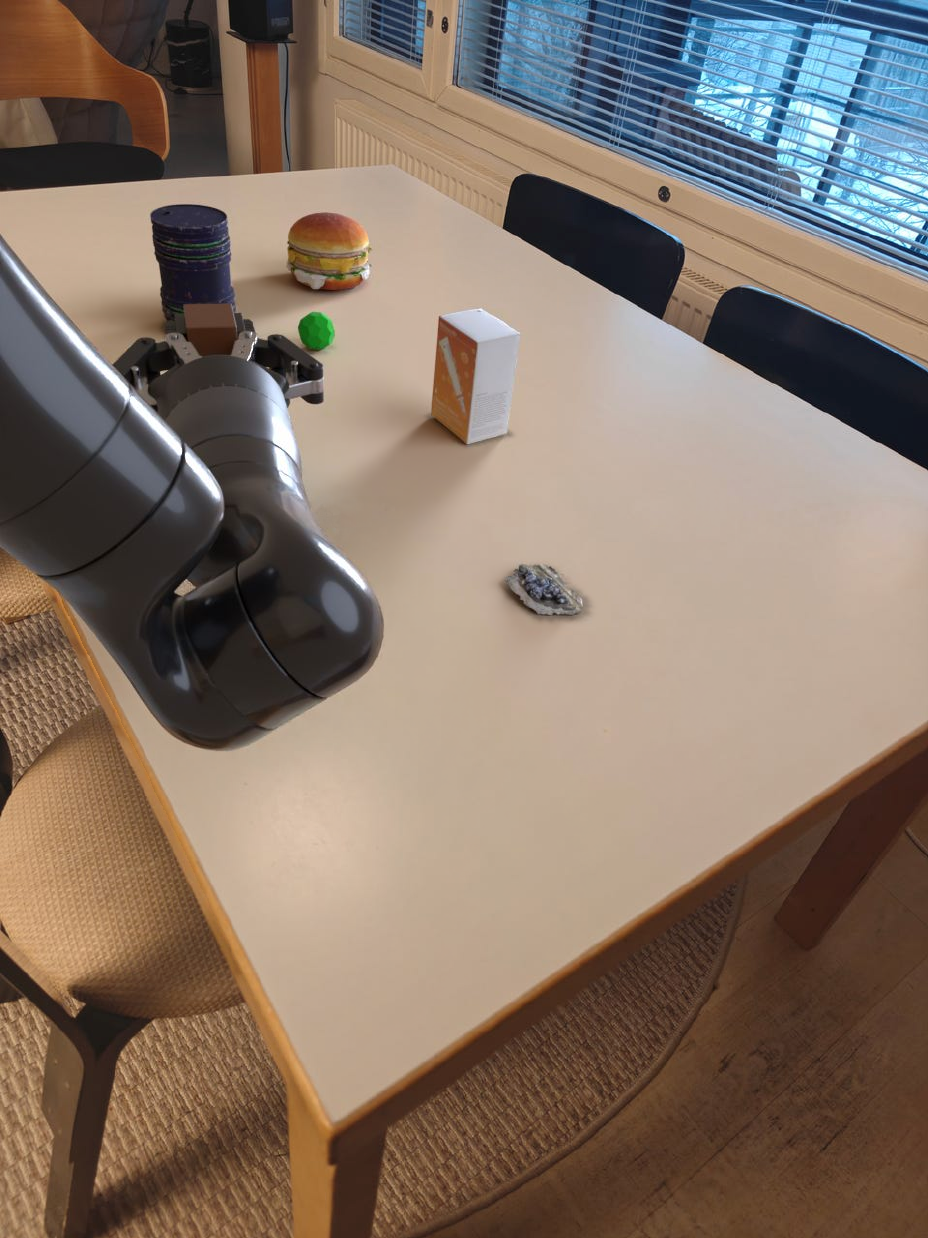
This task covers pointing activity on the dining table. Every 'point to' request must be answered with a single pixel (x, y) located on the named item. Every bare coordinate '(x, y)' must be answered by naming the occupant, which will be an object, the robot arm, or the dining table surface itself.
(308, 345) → the polyhedron
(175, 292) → the navy striped cylinder
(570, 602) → the grey flat lumpy piece
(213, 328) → the chocolate carton
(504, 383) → the small box
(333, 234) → the burger
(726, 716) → the dining table surface
